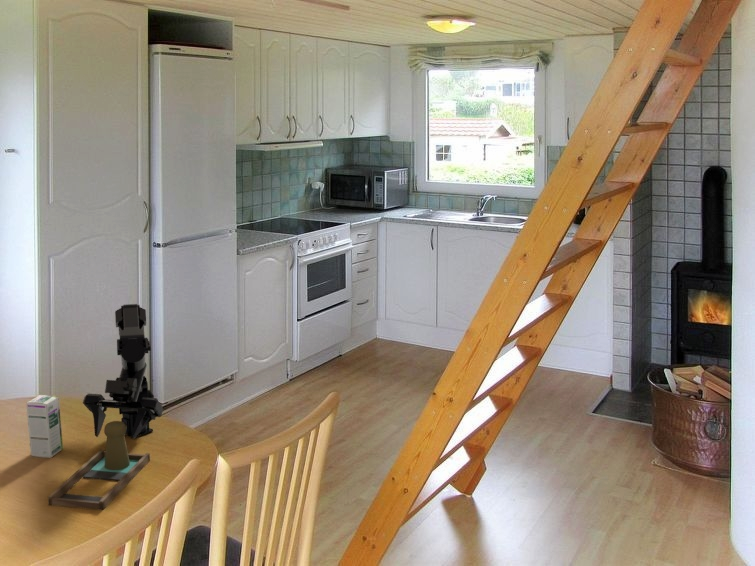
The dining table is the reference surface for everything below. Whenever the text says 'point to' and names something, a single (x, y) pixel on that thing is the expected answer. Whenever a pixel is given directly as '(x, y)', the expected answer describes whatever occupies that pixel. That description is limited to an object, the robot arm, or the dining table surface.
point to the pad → (100, 467)
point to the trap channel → (85, 471)
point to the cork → (116, 446)
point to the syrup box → (44, 426)
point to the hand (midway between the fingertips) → (114, 437)
